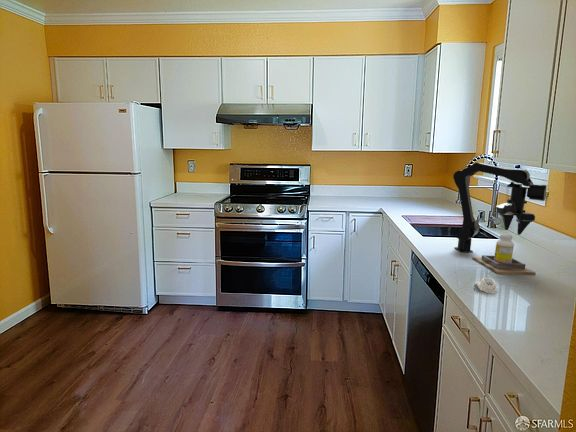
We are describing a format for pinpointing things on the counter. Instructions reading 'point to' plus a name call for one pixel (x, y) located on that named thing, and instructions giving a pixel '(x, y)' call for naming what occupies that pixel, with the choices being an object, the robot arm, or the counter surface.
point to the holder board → (503, 266)
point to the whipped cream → (487, 285)
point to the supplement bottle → (504, 249)
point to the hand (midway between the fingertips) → (512, 232)
